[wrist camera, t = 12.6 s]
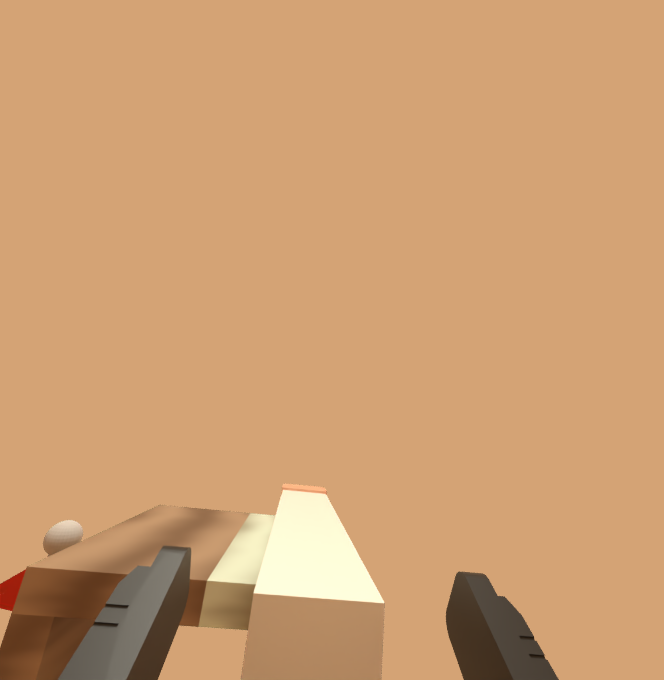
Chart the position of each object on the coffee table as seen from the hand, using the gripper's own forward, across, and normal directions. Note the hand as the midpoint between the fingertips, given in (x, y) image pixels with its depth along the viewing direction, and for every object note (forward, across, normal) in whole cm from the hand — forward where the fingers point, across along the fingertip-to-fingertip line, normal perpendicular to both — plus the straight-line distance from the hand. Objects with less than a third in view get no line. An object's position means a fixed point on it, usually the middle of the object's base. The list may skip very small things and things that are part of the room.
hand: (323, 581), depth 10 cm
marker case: (+9, 0, +10) cm, 13 cm away
